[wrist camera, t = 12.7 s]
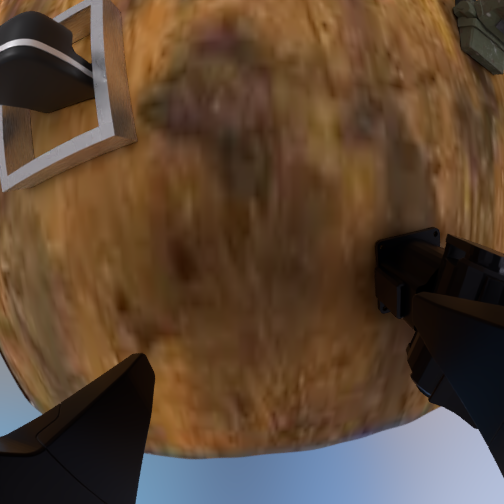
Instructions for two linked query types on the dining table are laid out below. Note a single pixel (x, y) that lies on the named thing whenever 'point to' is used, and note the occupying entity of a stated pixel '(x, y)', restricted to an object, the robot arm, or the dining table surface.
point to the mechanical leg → (482, 31)
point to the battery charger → (41, 65)
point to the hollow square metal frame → (106, 96)
